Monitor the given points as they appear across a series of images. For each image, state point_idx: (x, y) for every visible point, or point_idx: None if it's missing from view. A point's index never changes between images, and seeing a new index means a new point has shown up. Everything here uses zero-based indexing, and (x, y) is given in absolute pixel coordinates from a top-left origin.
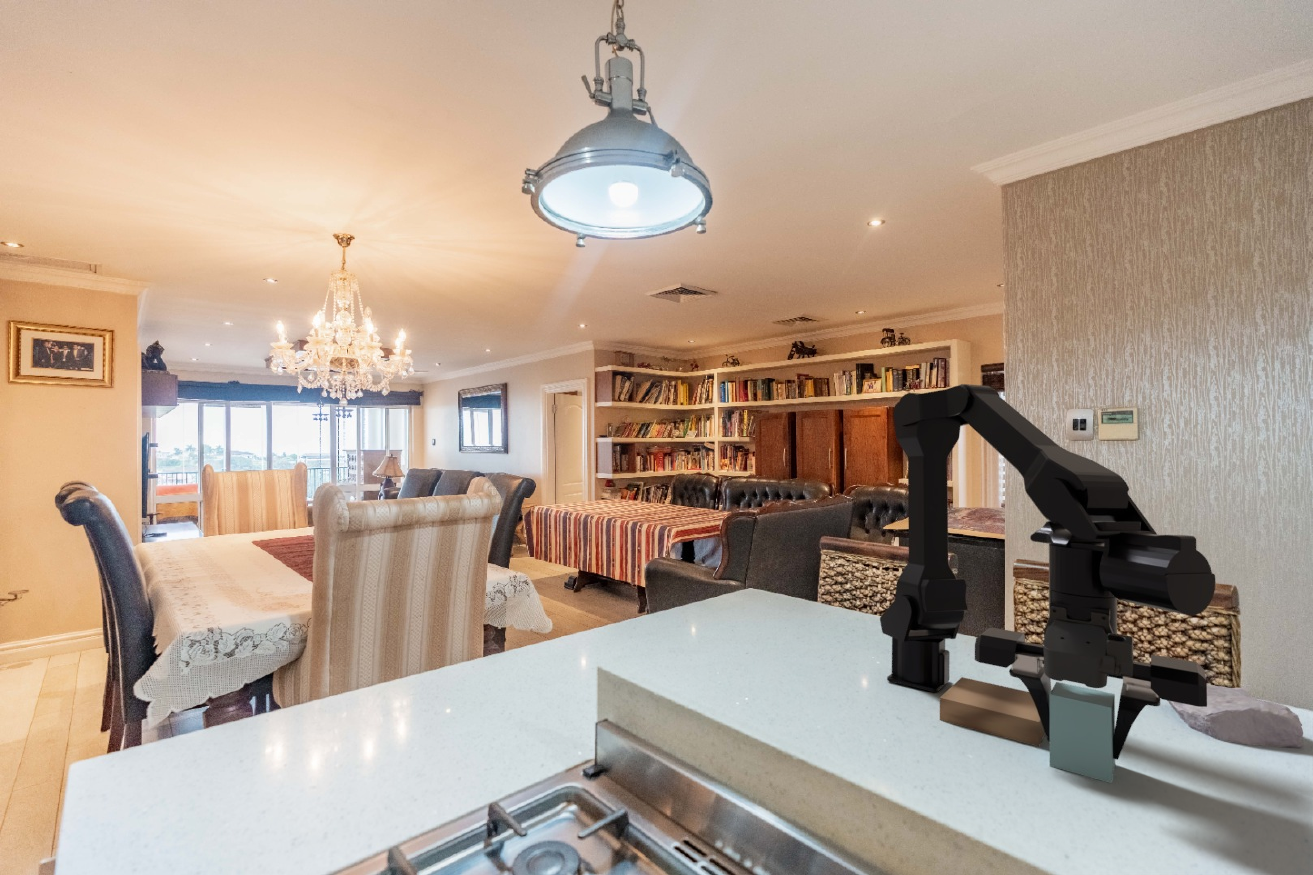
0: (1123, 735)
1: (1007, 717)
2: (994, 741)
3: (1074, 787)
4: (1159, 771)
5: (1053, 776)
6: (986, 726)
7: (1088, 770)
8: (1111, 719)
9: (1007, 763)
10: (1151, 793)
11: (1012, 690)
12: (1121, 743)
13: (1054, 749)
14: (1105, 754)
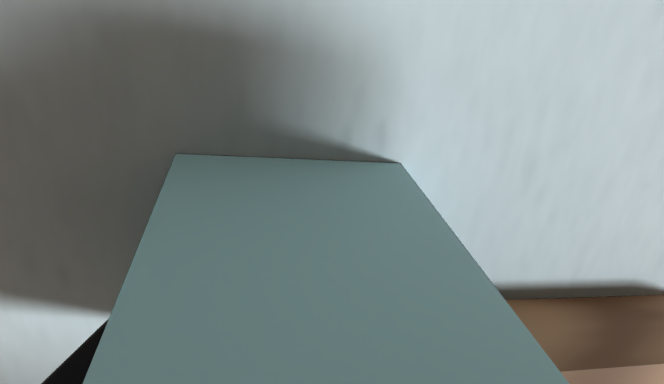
0: (62, 381)
1: (552, 359)
2: (555, 247)
3: None
4: (50, 367)
5: (396, 59)
6: (576, 314)
7: (264, 170)
8: None
9: (559, 73)
10: (17, 156)
11: None
12: (99, 338)
13: (408, 199)
14: (181, 217)
